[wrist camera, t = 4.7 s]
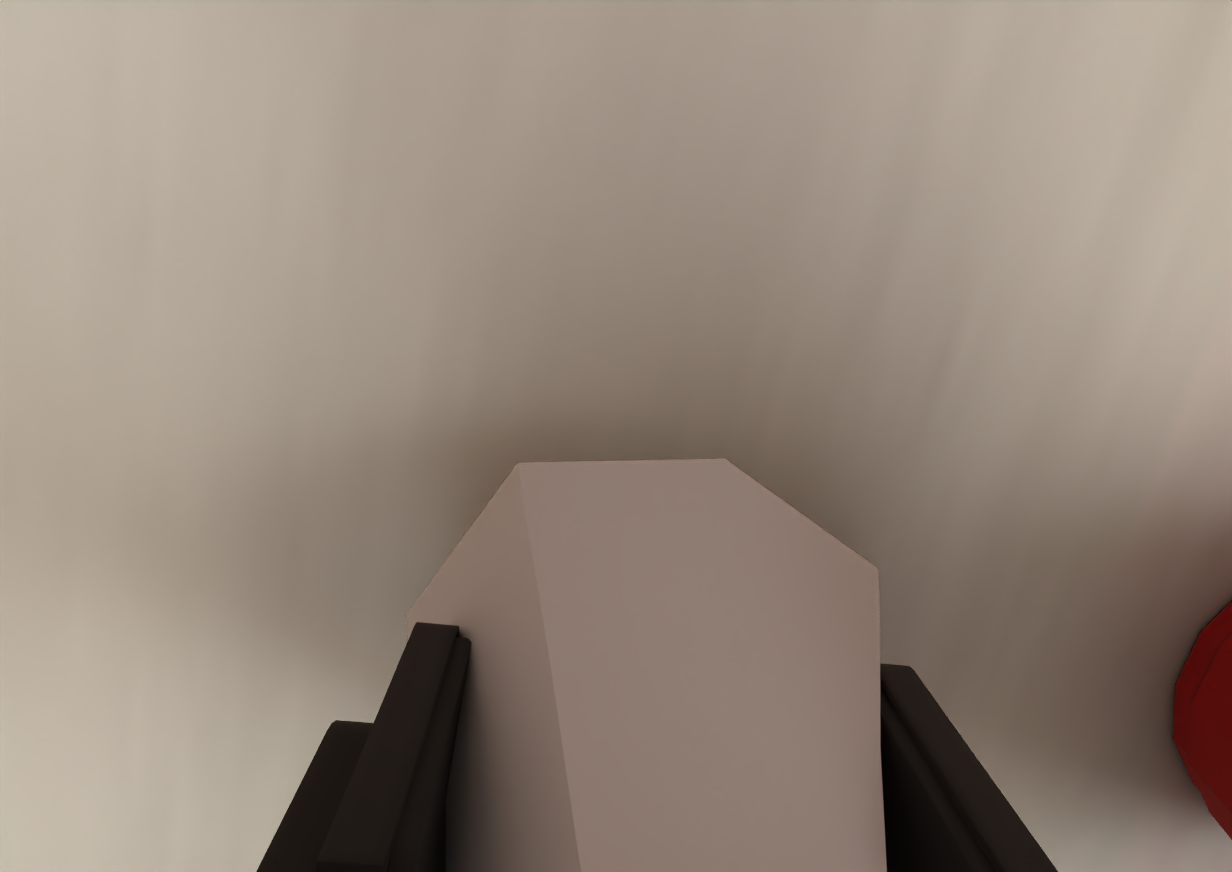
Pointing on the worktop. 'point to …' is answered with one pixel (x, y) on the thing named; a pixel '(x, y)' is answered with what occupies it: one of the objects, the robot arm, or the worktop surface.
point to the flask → (660, 678)
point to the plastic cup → (1208, 716)
